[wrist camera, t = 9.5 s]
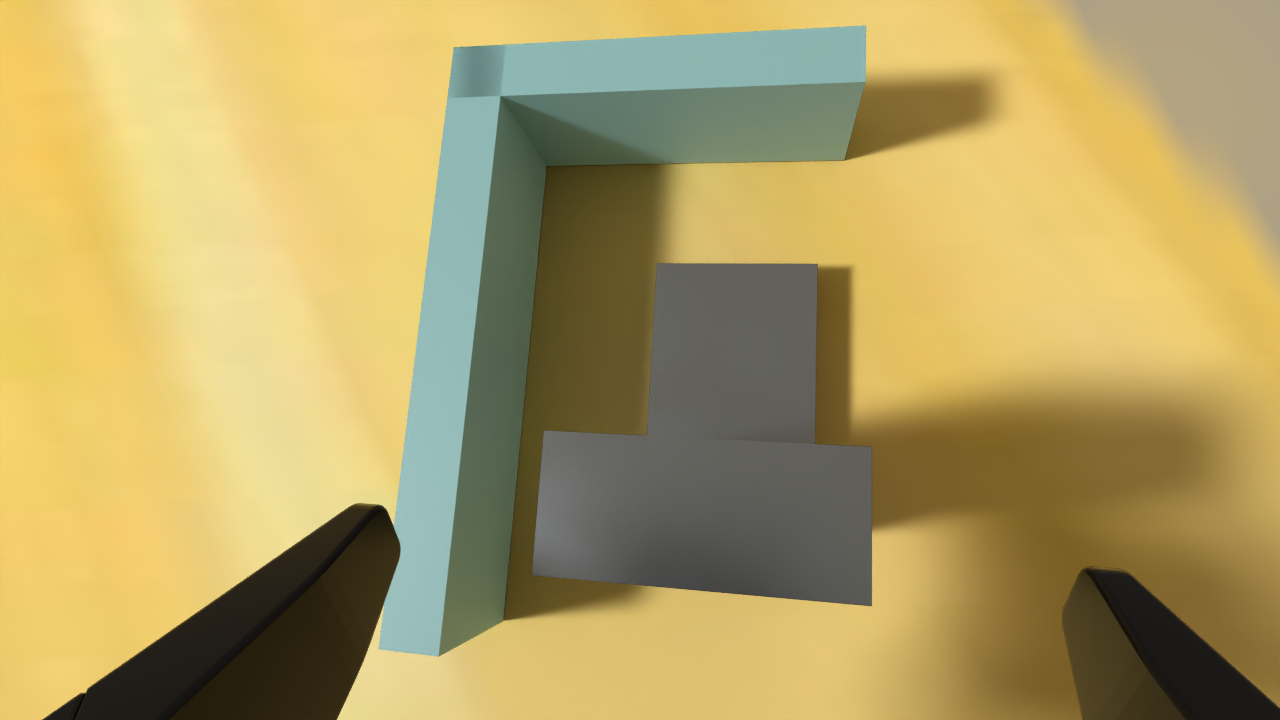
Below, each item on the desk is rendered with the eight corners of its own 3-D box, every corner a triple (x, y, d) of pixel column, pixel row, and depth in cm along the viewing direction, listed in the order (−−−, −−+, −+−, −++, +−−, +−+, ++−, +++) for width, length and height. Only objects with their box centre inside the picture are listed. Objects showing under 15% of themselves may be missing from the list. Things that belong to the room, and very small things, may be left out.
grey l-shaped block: (810, 540, 18) (871, 606, 8) (647, 527, 19) (531, 575, 9) (814, 274, 19) (872, 66, 10) (661, 273, 20) (573, 81, 10)
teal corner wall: (836, 658, 17) (860, 708, 14) (454, 615, 19) (378, 649, 15) (845, 113, 20) (865, 25, 16) (507, 124, 22) (453, 47, 18)
